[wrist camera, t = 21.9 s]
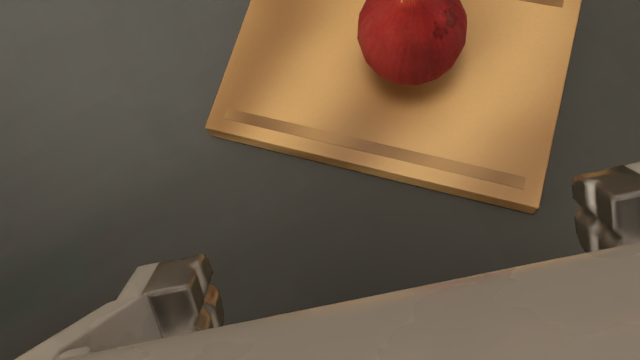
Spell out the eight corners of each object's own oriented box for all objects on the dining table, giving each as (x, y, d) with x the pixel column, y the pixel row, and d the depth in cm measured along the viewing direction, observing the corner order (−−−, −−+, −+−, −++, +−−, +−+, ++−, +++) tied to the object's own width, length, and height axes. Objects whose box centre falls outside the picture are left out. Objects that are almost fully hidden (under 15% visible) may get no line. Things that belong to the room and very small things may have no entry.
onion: (439, 7, 35) (449, -87, 27) (475, 87, 33) (496, 11, 26) (349, 39, 35) (335, -45, 28) (380, 120, 33) (374, 54, 26)
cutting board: (212, 136, 36) (204, 127, 35) (277, -48, 40) (273, -63, 38) (532, 214, 32) (539, 208, 31) (577, 2, 35) (584, -13, 34)
